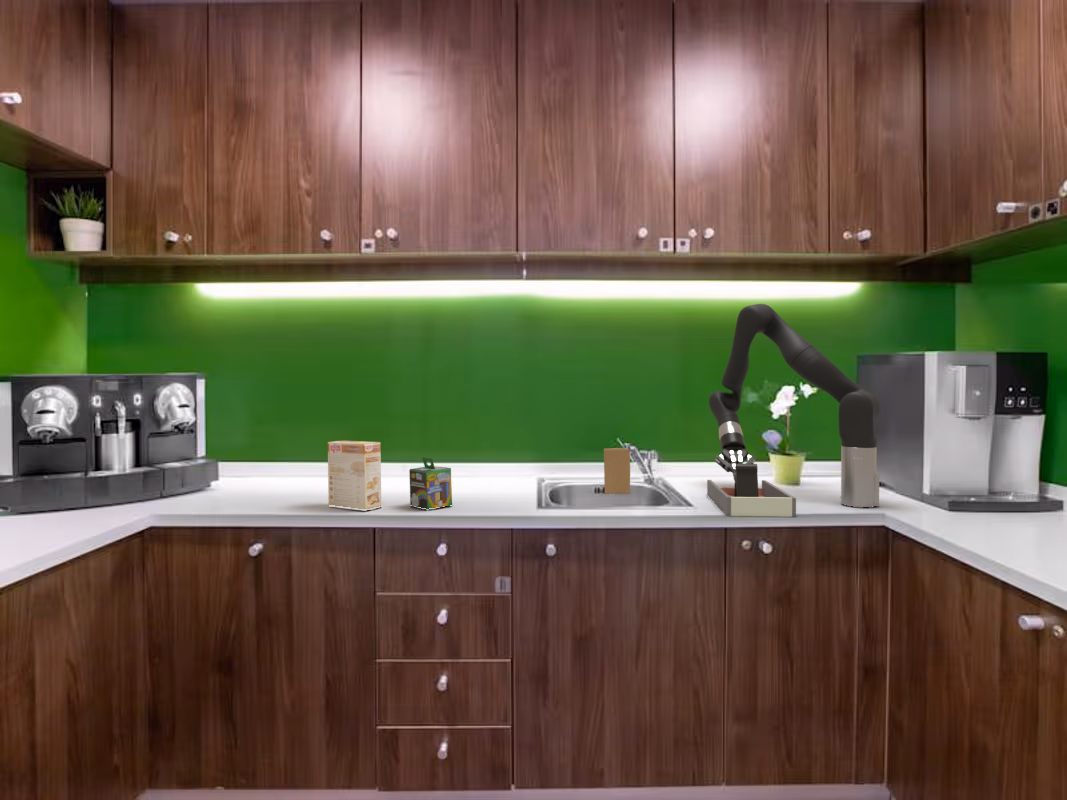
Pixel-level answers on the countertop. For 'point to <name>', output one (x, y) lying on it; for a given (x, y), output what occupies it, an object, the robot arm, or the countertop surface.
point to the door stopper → (746, 480)
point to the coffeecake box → (354, 474)
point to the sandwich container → (617, 470)
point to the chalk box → (430, 486)
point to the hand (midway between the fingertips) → (739, 481)
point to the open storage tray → (753, 501)
